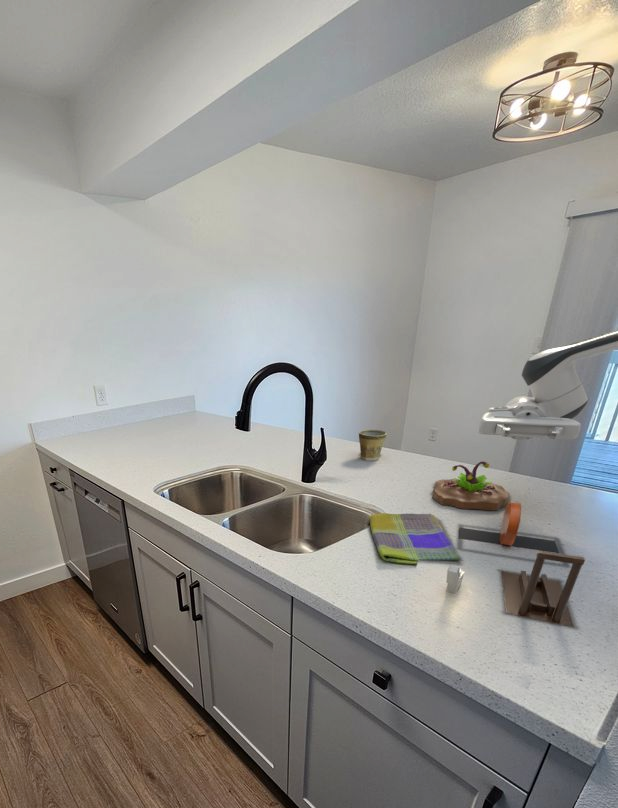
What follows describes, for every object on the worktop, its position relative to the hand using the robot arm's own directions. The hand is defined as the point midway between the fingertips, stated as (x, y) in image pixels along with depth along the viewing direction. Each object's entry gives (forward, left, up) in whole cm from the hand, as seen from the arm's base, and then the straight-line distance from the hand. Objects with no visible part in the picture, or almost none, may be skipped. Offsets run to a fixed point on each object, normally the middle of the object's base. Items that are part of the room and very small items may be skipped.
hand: (529, 434), depth 100 cm
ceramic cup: (+42, -52, -24) cm, 71 cm away
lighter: (+11, +38, -24) cm, 46 cm away
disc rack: (-3, +34, -24) cm, 42 cm away
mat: (0, +12, -24) cm, 27 cm away
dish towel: (+21, +16, -24) cm, 36 cm away
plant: (+8, -19, -24) cm, 32 cm away
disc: (0, +12, -23) cm, 26 cm away
